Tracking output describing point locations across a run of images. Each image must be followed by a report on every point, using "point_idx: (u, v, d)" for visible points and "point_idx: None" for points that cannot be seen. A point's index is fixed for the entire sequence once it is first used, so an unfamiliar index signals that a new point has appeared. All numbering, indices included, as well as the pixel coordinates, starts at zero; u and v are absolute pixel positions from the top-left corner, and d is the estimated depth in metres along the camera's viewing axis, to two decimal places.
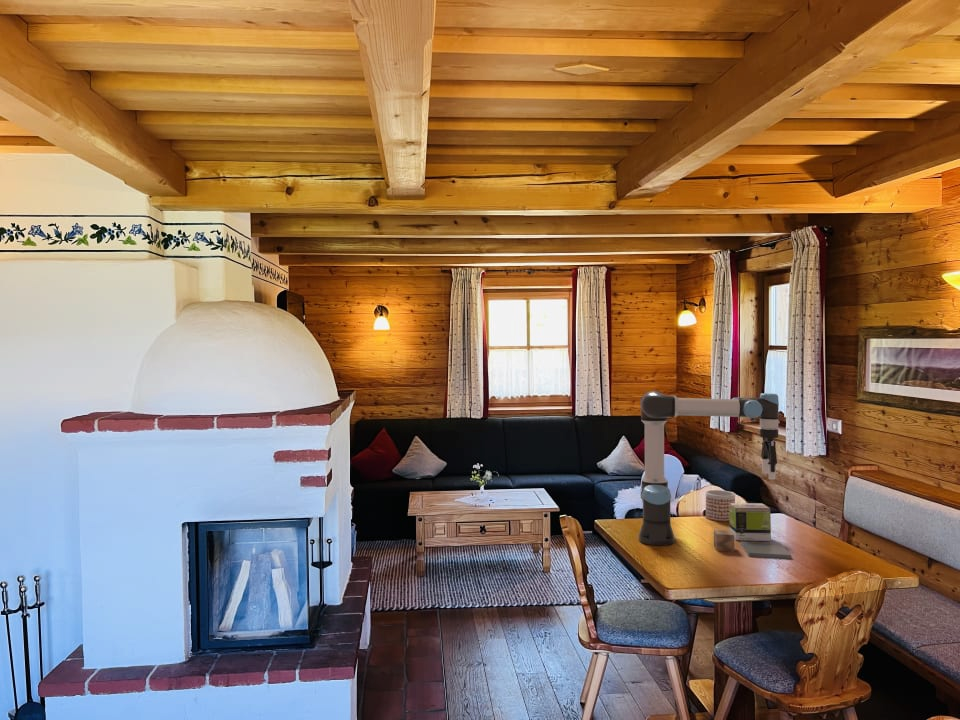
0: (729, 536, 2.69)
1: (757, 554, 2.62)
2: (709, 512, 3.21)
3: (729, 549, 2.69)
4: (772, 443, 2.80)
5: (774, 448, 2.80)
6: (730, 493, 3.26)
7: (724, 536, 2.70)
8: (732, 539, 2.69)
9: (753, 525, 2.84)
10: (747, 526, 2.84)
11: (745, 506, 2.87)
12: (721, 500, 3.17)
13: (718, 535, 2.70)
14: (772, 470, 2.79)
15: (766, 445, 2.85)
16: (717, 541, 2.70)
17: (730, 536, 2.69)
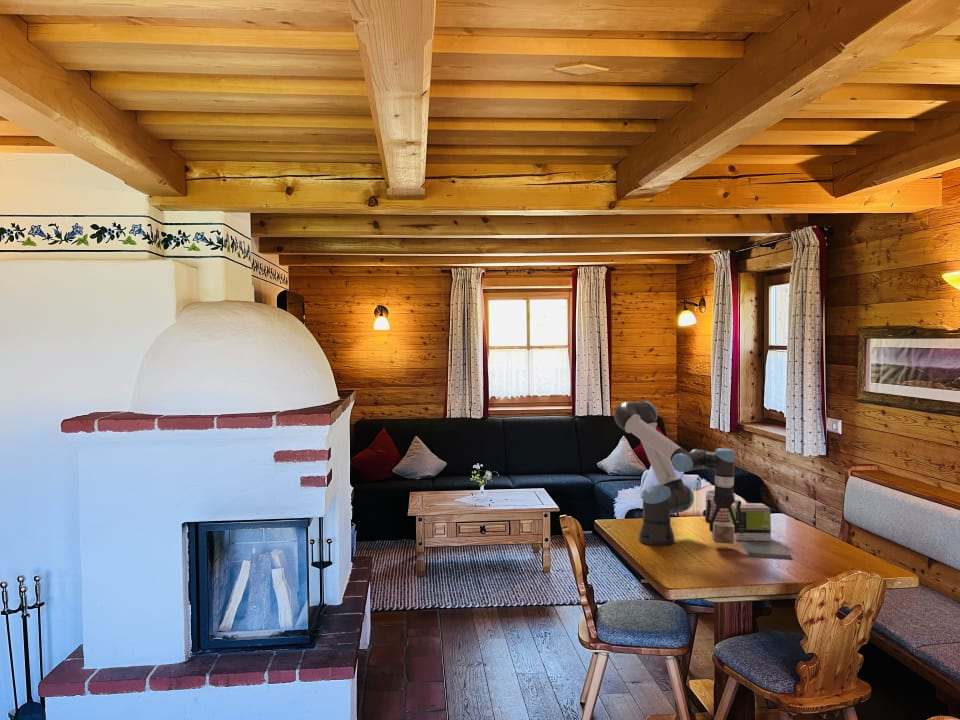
0: (728, 528, 2.70)
1: (757, 554, 2.62)
2: None
3: (728, 541, 2.70)
4: (707, 501, 2.74)
5: (707, 506, 2.74)
6: None
7: (723, 528, 2.70)
8: (731, 531, 2.69)
9: (753, 525, 2.84)
10: (747, 526, 2.84)
11: (745, 506, 2.87)
12: None
13: (717, 527, 2.70)
14: (709, 529, 2.75)
15: None
16: (716, 533, 2.71)
17: (729, 528, 2.70)
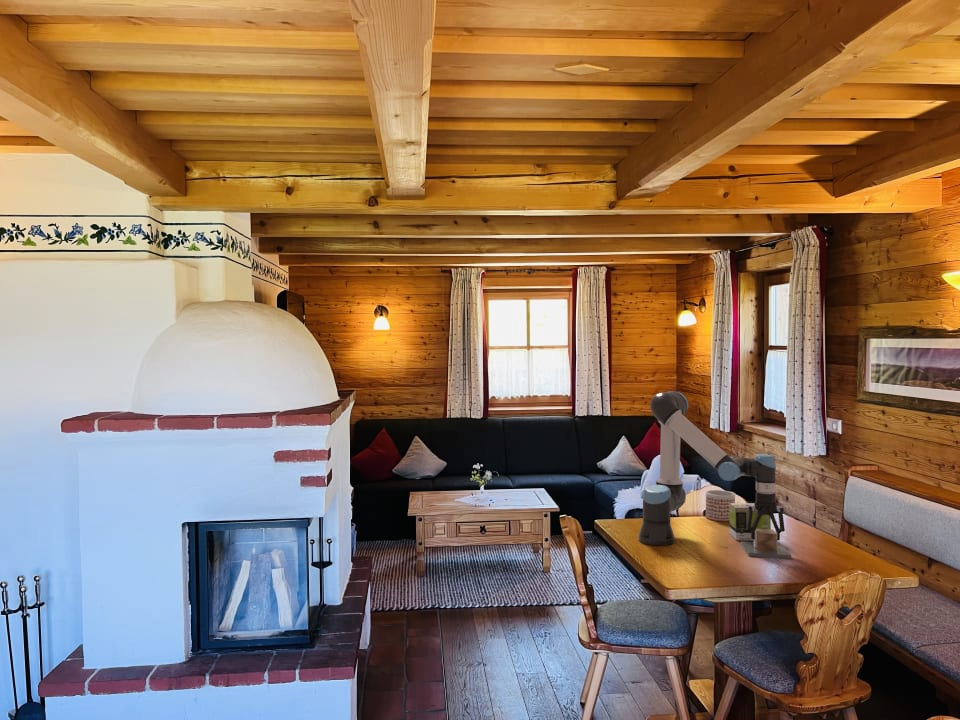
0: (771, 535, 2.65)
1: (757, 554, 2.62)
2: (709, 512, 3.21)
3: (771, 548, 2.65)
4: (748, 508, 2.70)
5: (749, 513, 2.69)
6: (730, 493, 3.26)
7: (766, 535, 2.65)
8: (774, 538, 2.65)
9: None
10: None
11: (745, 506, 2.87)
12: (721, 500, 3.17)
13: (760, 534, 2.66)
14: (751, 536, 2.70)
15: None
16: (759, 540, 2.66)
17: (772, 535, 2.65)
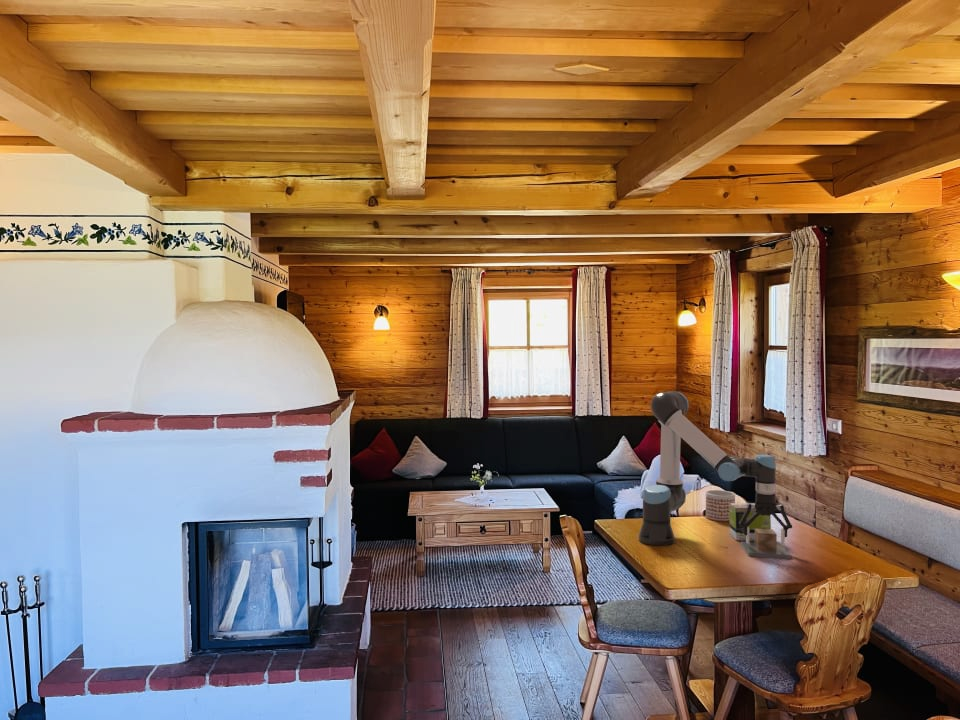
0: (771, 535, 2.65)
1: (757, 554, 2.62)
2: (709, 512, 3.21)
3: (771, 548, 2.65)
4: (747, 505, 2.70)
5: (746, 510, 2.70)
6: (730, 493, 3.26)
7: (766, 535, 2.65)
8: (774, 538, 2.65)
9: (753, 525, 2.84)
10: None
11: (745, 506, 2.87)
12: (721, 500, 3.17)
13: (760, 534, 2.66)
14: None
15: None
16: (759, 540, 2.66)
17: (772, 535, 2.65)
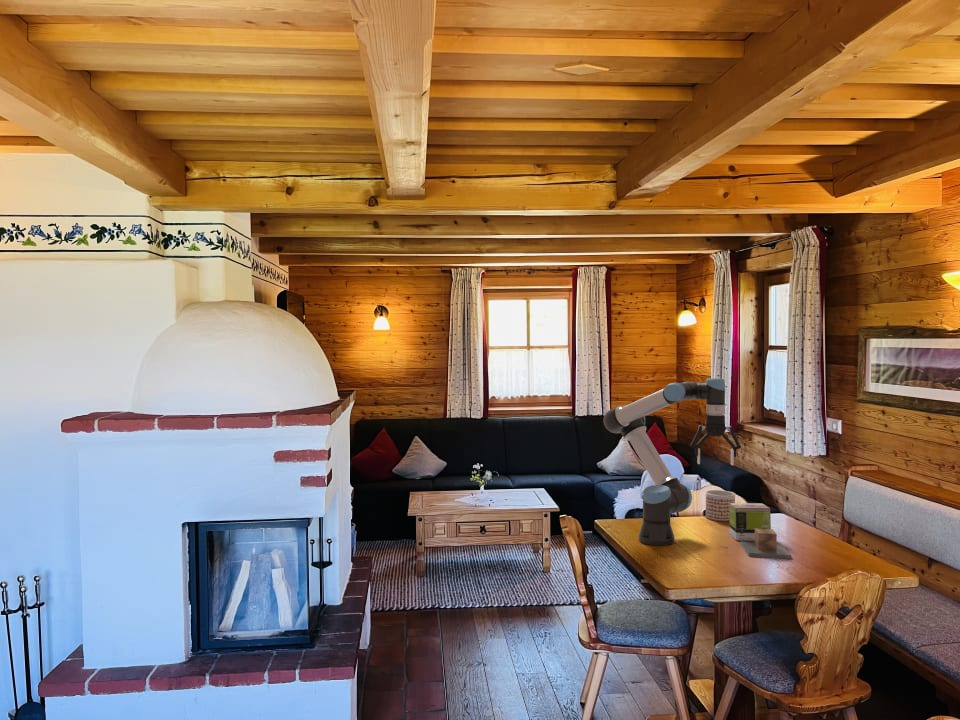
0: (771, 535, 2.65)
1: (757, 554, 2.62)
2: (709, 512, 3.21)
3: (771, 548, 2.65)
4: (698, 427, 2.78)
5: (697, 432, 2.78)
6: (730, 493, 3.26)
7: (766, 535, 2.65)
8: (774, 538, 2.65)
9: (753, 525, 2.84)
10: (747, 526, 2.84)
11: (745, 506, 2.87)
12: (721, 500, 3.17)
13: (760, 534, 2.66)
14: None
15: None
16: (759, 540, 2.66)
17: (772, 535, 2.65)
